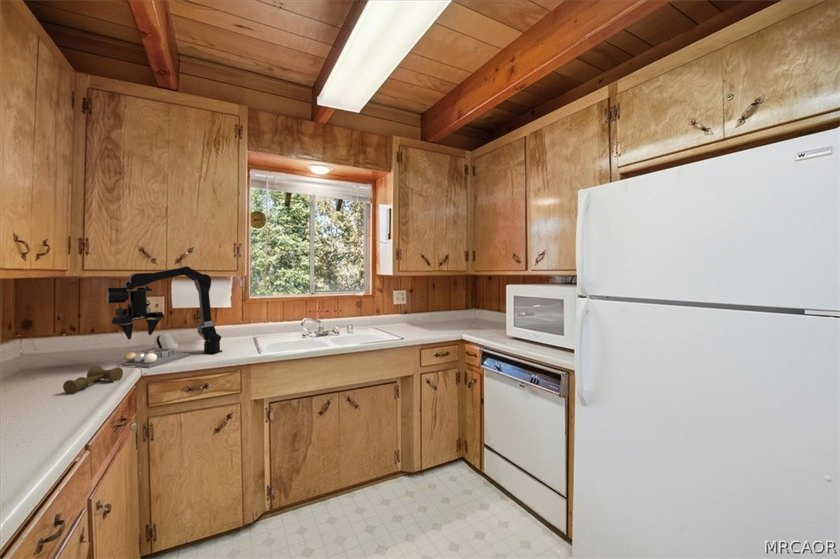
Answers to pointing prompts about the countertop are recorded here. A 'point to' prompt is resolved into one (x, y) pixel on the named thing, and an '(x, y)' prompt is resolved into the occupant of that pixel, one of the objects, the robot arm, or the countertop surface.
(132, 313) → the robot arm
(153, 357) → the plastic ball
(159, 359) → the mat
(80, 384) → the kendama
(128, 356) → the tan wooden ball
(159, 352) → the crimped metal cup
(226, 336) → the countertop surface
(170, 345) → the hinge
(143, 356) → the steel ball
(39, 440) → the countertop surface
